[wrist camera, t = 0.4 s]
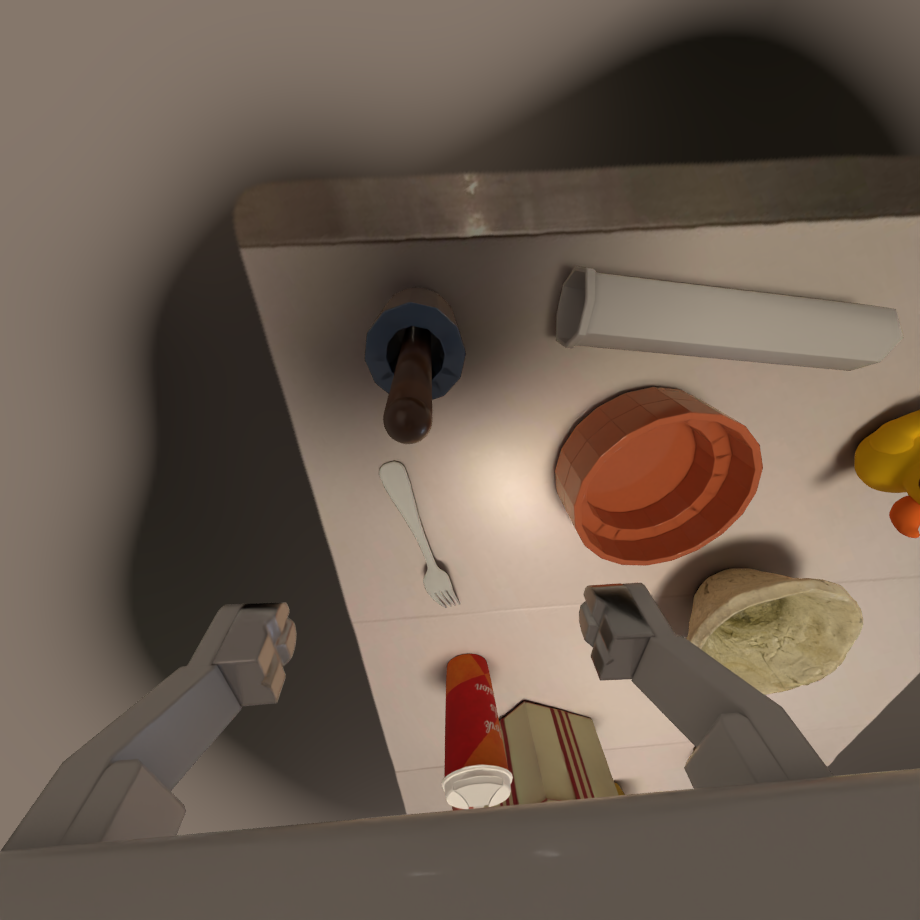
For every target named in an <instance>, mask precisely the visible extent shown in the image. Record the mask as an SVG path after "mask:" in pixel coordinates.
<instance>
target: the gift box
mask: <svg viewBox="0 0 920 920" xmlns="http://www.w3.org/2000/svg"><path fill="white" fill-rule="evenodd" d="M499 724H500V729H501V734H502V740H503V745H504V750H505V755H506V760H507V765H508V770H509V771H510V772H511V773H512V776H513V779H512V783H511V784H510V785H511V792H510V796H509V797H508V798H507V799H506V800H505V801H503V802H502V803H500V804H497V805H495V806H491V807H497V806H508V805H519V804H530V803H542V802H553V801H564V800H575V799H586V798H597V797H608V796H619V795H618V792H617V789H616V787H615V784H614V781H613V778H612V776H611V773H610V770H609V767H608V764H607V761H606V758H605V755H604V752H603V750H602V747H601V744H600V741H599V738H598V735H597V733H596V730H595V727H594V724H593V722H592V719H591V718H588V717H584V716H580V715H576V714H572V713H569V712H566V711H562V710H558V709H554V708H550V707H546V706H542V705H538V704H534V703H530V702H525V701H524V702H523V703H521V704H520V705H519V706H518V707H516V708H515V709H514V710H513V711H512V712H511V713H509V714H508V715H507V716H506V717H504V718H502V719H501V720H500V721H499ZM486 807H489V806H488V805H484V808H486Z"/></svg>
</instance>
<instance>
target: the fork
mask: <svg viewBox="0 0 920 920" xmlns="http://www.w3.org/2000/svg"><path fill="white" fill-rule="evenodd" d="M379 475H380V478H381V480H382V483H383V485H384V488H385V489H386V491H387V493H388V494H389V496H390V497H391V499H392V501H393V502H394V504H395V505H396V507H397V508H398V510H399V511H400V513H401V515H402V516H403V518H404V519H405V521H406V523H407V524H408V526H409V528H410V529H411V531H412V533H413V534H414V536H415V538H416V540H417V542H418V544H419V546H420V548H421V550H422V552H423V555H424V557H425V560H426V563H427V567H428V569H427V573H426V575H425V576H424V580H423V583H424V586H425V589H426V591H427V593H428V594H429V595H430V596H431V597H432V599H433V600H434V601H436V602H437V603H438V604H440V605H441V606H443V607H445V608H446V606H445V605H444V604H443V603H442V602H441V601H440V600H439V599H438V597H439V598H440V599H441V600H442V601H443V602H444V603H446V604H447V605H448V606H450V607H451V605H450V604H449V603H448V602H447V601H446V599H447V600H448V601H449V602H450V603H452V604H453V605H454V606H455V604H454V602H453V601H452V600H451V598H450V597H449V595H450V596H451V597H452V598H453V599H454V600H455V601H456V602H457V603H458V604H459V605H460V603H459V601H458V599H457V597H456V595H455V593H454V591H453V589H452V585H451V582H450V579H449V576H448V575H447V573H446V572H444V571H442V570H441V569H440V568H439V567H437V565H436V563H435V560H434V558H433V555H432V552H431V550H430V547H429V544H428V542H427V539H426V537H425V534H424V531H423V528H422V525H421V522H420V519H419V515H418V512H417V508H416V504H415V500H414V496H413V492H412V488H411V484H410V481H409V478H408V475H407V473H406V470H405V467H404V466H403V465H402V464H401V463H399V462H395V461H393V462H390V463H386V464H383V465H382V467H381V468H380V470H379ZM446 590H447V591H448V593H449V595H448V593H447V591H446ZM440 591H441V592H442V593H443V595H444V596H445V598H446V599H445V598H444V597H443V595H442V594H441V592H440ZM435 593H436V594H437V596H438V597H437V596H436V594H435Z"/></svg>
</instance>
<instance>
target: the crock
mask: <svg viewBox="0 0 920 920" xmlns="http://www.w3.org/2000/svg"><path fill="white" fill-rule="evenodd" d="M411 326H415V327H419V328H424V329H428V330H429V331H430V332H431V371H432V400H433V399H436V398H439V397H442V396H444V395H445V394H446V393H447V392H448V391H449V390H450V389H451V388H452V386H453V385H454V384H455V383H456V382H457V381H458V380H459V379H460V377H461V373H462V368H463V364H464V360H465V355H466V353H465V348H464V345H463V342H462V338H461V335H460V332H459V329H458V326H457V322H456V319H455V316H454V313H453V310H452V308H451V306H450V305H449V304H448V303H447V302H446V301H445V299H444V298H443V297H441V296H440V295H439V294H438V293H436V292H435V291H432V290H429V289H426V288H421V287H412V288H408V289H405V290H402V291H400V292H399V293H396V294H395V295H393V296H392V298H391V299H390V300H389V302H388V303H387V304H386V306H385V307H384V308H383V310H382V311H381V313H380V314H379V316H378V317H377V319H376V320H375V322H374V323H373V325H372V326H371V328H370V329H369V331H368V333H367V338H366V349H365V362H366V364H367V366H368V368H369V370H370V373H371V375H372V377H373V379H374V381H375V383H376V384H377V385H378V386H380V387H381V388H382V389H383V390H385V391H386V392H387V393H389V392H390V388H391V384H392V380H393V377H394V373H395V369H396V365H397V361H398V357H399V353H400V350H401V346H402V342H403V338H404V334H405V330H406V328H408V327H411Z"/></svg>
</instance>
